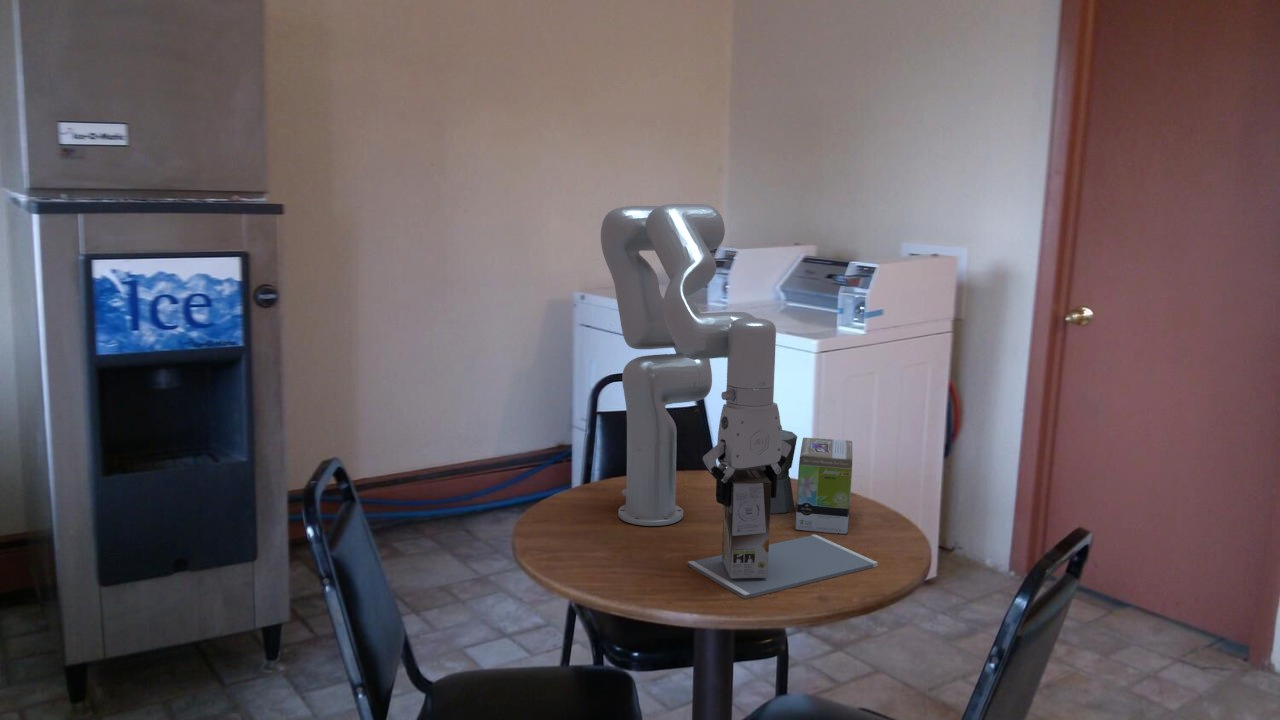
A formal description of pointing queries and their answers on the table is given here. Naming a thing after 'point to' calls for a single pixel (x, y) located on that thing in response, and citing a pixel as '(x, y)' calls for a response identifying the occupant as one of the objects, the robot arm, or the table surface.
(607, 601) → the table surface
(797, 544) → the mat
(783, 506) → the coffeepot
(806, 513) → the tea box
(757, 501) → the coffee box
